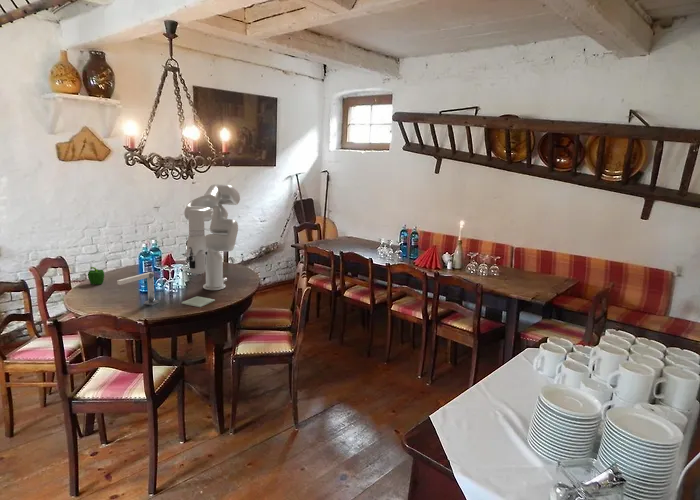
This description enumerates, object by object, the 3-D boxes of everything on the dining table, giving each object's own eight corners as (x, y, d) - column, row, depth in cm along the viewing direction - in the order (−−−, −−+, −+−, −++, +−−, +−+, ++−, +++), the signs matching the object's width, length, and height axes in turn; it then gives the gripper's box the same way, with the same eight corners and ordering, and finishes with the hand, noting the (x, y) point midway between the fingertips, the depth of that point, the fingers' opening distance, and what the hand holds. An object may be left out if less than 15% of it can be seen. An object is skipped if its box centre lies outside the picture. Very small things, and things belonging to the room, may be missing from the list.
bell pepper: (108, 282, 264) (107, 265, 262) (99, 286, 256) (98, 269, 254) (94, 281, 264) (93, 264, 262) (85, 285, 256) (84, 268, 254)
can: (207, 270, 238) (206, 248, 236) (203, 274, 231) (202, 251, 228) (192, 270, 238) (192, 248, 235) (188, 274, 231) (187, 251, 228)
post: (151, 301, 236) (150, 275, 233) (159, 302, 234) (157, 276, 231) (144, 304, 231) (142, 277, 228) (151, 305, 229) (150, 279, 226)
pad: (196, 297, 245) (196, 296, 245) (215, 300, 241) (215, 299, 241) (181, 303, 234) (181, 302, 234) (200, 307, 230) (200, 306, 230)
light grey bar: (150, 274, 232) (150, 271, 231) (155, 276, 230) (155, 272, 230) (116, 284, 214) (115, 280, 214) (121, 285, 213) (121, 281, 212)
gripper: (202, 229, 239) (202, 262, 243) (178, 234, 223) (180, 269, 227) (213, 231, 237) (214, 263, 241) (191, 236, 221) (192, 271, 225)
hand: (197, 266), depth 234 cm, fingers closed on can, 7 cm apart
